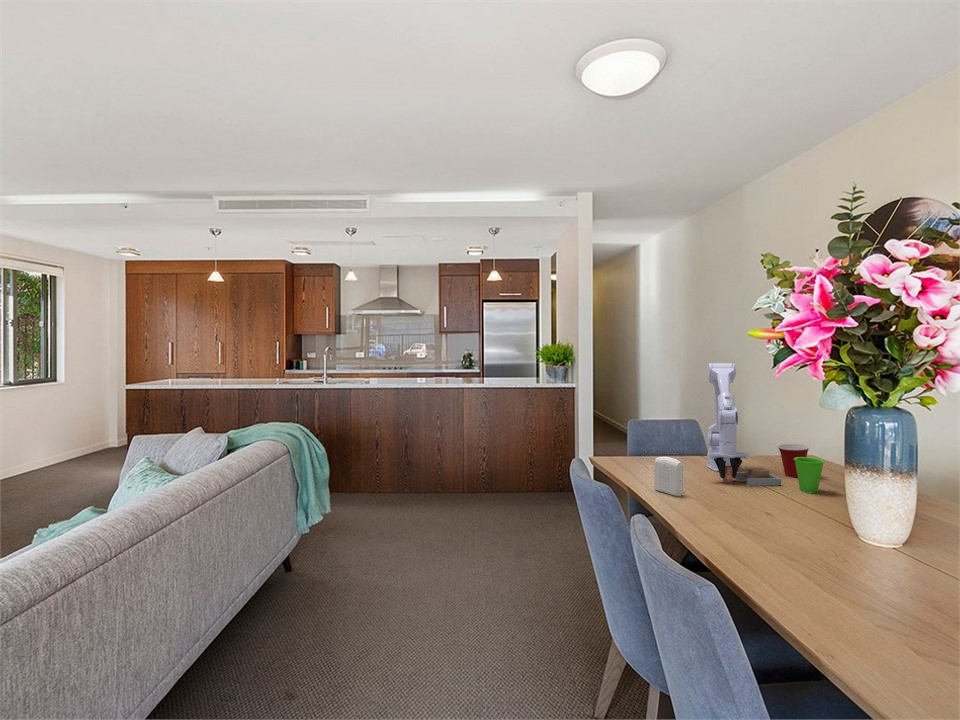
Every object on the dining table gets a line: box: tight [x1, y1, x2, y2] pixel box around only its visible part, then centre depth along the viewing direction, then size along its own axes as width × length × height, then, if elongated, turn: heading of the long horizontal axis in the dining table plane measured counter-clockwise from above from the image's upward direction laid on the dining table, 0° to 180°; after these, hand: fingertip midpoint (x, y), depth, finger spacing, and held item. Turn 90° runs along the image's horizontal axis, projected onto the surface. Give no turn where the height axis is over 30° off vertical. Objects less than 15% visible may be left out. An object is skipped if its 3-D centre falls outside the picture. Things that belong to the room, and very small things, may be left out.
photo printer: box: [654, 456, 684, 497], centre depth 177 cm, size 10×4×12 cm, turn 31°
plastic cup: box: [777, 443, 810, 479], centre depth 197 cm, size 11×11×12 cm
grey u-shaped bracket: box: [734, 471, 782, 487], centre depth 189 cm, size 10×12×2 cm
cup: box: [794, 457, 826, 494], centre depth 177 cm, size 9×9×11 cm
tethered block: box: [722, 465, 770, 484], centre depth 189 cm, size 5×16×6 cm, turn 89°
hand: (727, 477), depth 189 cm, fingers open, 3 cm apart
